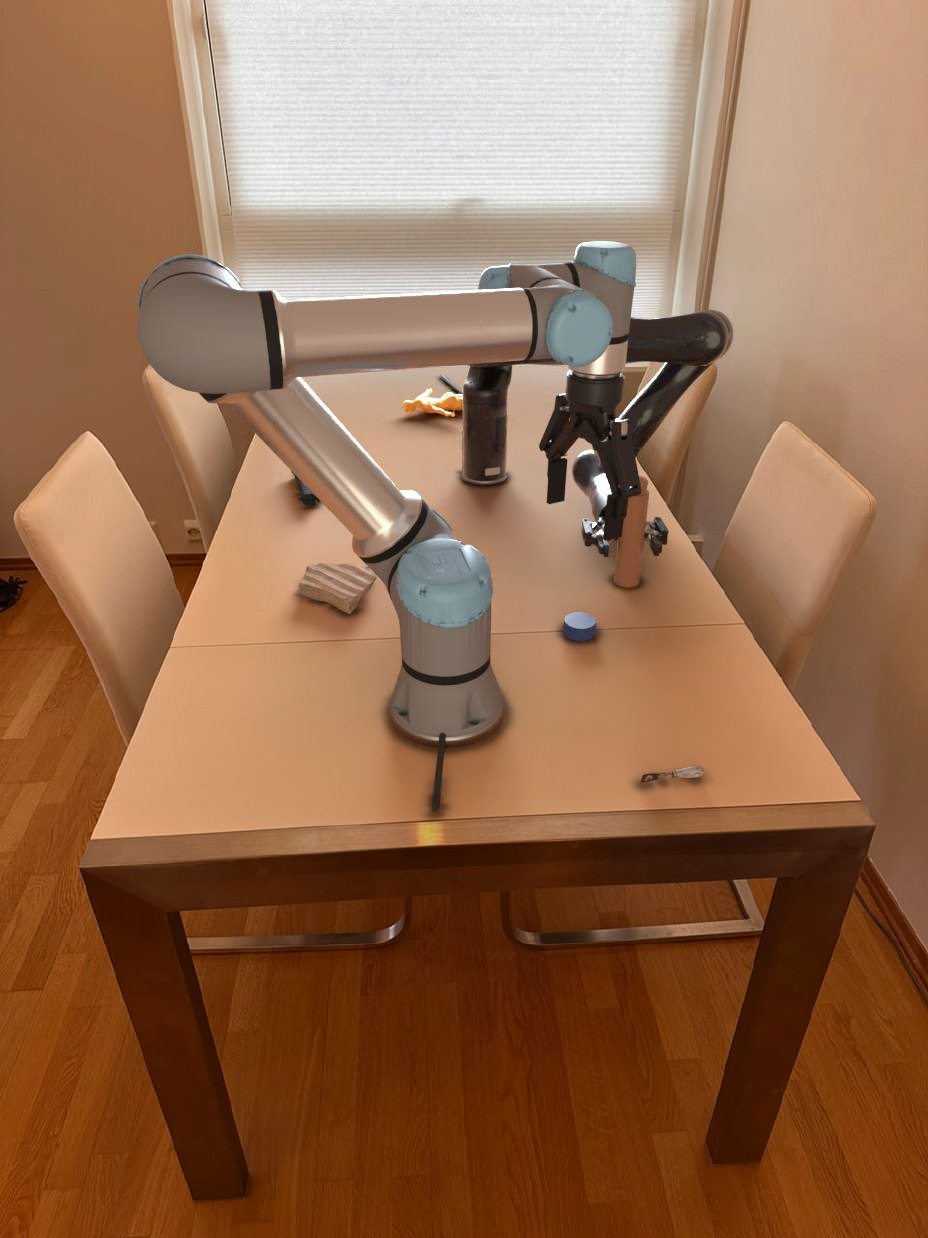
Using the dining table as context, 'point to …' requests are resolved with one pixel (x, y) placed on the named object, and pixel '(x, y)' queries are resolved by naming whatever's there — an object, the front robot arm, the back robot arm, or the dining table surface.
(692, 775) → the putty knife
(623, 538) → the tall tan cylinder
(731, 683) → the dining table surface
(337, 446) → the front robot arm
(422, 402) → the human figure
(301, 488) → the handgun
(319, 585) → the stone
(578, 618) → the lid
